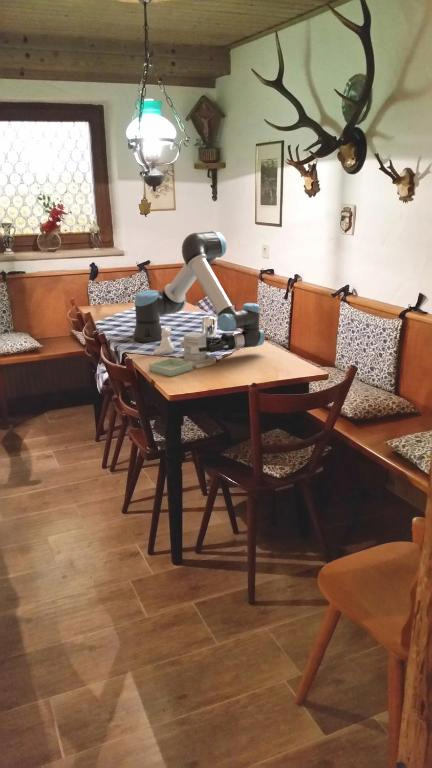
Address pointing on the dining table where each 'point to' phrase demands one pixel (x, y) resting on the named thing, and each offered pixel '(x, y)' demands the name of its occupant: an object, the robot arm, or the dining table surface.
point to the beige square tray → (200, 364)
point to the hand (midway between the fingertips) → (185, 347)
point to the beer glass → (209, 326)
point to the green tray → (170, 367)
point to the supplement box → (192, 341)
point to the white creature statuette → (165, 343)
